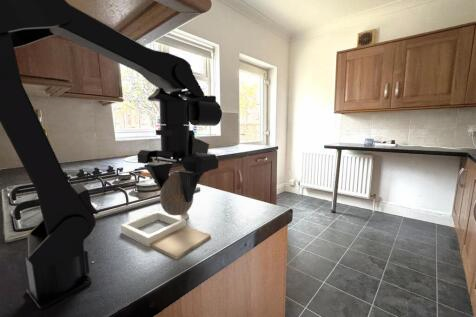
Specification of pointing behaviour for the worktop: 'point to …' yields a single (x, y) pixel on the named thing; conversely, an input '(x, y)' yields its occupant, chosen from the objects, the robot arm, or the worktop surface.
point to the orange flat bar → (146, 174)
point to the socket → (142, 237)
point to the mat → (180, 241)
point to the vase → (174, 196)
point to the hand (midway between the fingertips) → (176, 198)
